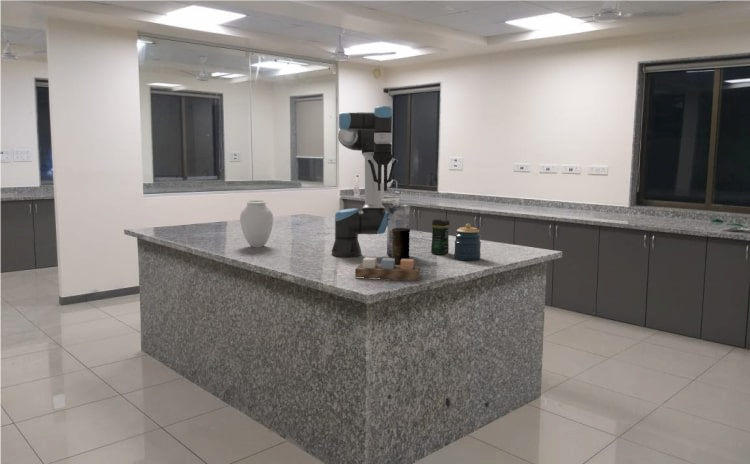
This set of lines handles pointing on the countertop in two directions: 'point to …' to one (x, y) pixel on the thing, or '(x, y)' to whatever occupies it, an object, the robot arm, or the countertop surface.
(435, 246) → the coffee jar
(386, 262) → the slate key
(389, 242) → the juice carton
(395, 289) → the countertop surface
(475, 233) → the canister
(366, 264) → the ivory key
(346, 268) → the countertop surface
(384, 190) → the robot arm
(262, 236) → the vase
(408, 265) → the terracotta key
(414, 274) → the key panel
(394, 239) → the container
